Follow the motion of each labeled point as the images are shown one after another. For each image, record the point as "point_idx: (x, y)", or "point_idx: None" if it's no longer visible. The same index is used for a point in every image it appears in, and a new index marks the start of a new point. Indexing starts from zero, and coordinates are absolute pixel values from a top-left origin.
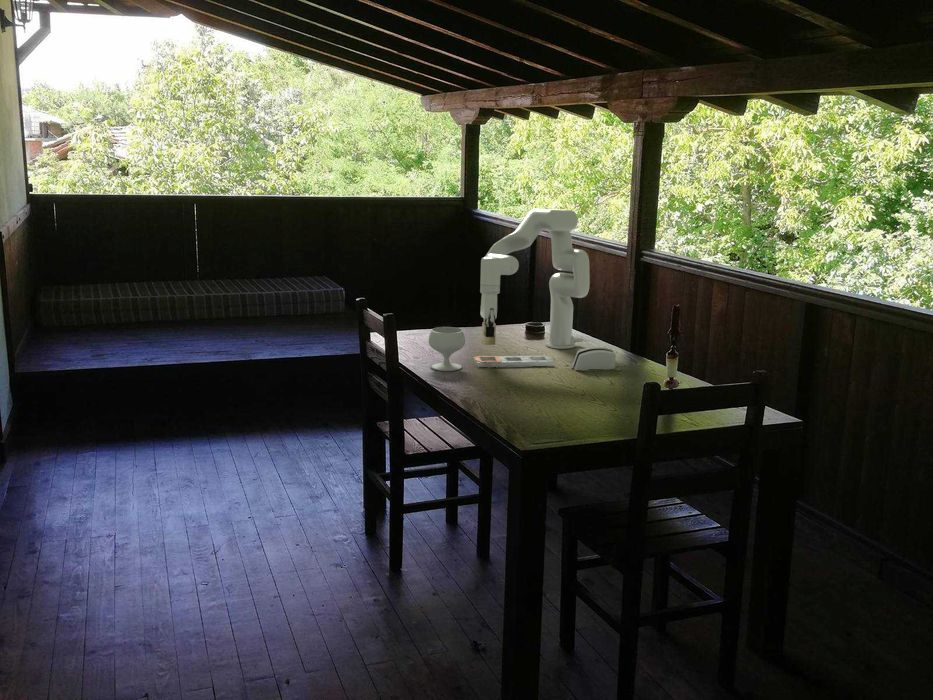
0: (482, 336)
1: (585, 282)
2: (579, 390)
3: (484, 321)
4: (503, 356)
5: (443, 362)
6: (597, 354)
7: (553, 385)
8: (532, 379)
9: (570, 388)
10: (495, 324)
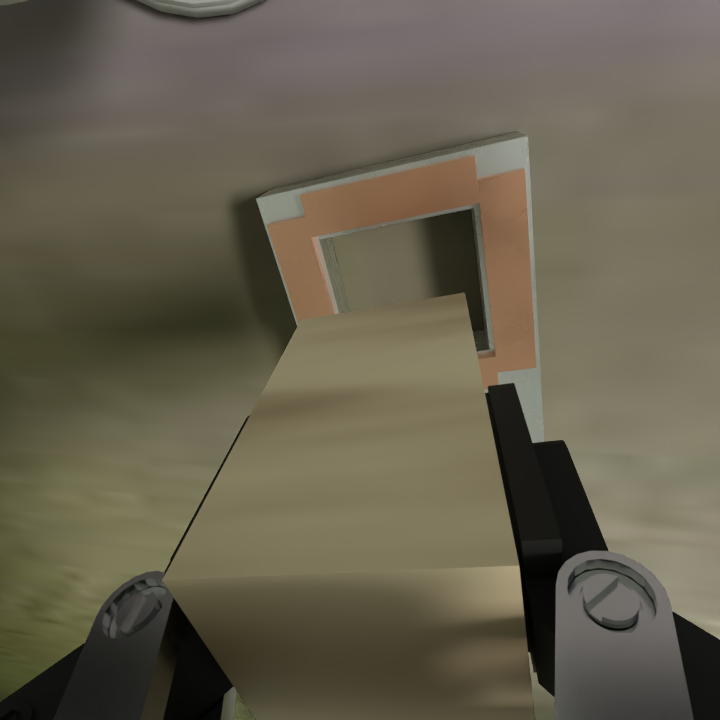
0: (419, 347)
1: None
2: (15, 624)
3: (556, 637)
4: (535, 419)
5: None
6: None
7: (36, 566)
8: (97, 507)
9: (25, 607)
10: None
